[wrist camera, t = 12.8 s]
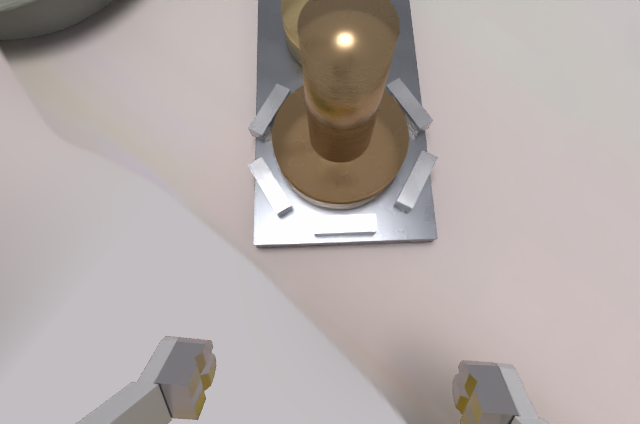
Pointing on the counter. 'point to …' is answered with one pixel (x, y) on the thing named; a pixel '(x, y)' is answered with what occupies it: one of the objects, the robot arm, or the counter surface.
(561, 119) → the counter surface
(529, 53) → the counter surface
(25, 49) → the counter surface
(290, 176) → the brass joystick knob
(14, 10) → the cake pan
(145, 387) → the robot arm
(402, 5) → the carrier plate
